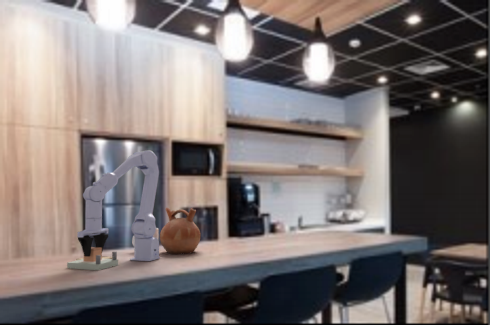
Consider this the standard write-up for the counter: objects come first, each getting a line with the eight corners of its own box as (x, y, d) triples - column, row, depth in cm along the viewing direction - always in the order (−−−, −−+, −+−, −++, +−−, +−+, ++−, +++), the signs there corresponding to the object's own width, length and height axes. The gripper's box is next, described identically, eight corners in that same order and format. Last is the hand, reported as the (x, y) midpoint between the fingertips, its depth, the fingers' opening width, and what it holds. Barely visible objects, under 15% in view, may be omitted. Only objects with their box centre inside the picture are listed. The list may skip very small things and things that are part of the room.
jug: (150, 254, 183) (151, 208, 184) (173, 248, 199) (173, 206, 201) (187, 256, 176) (187, 208, 177) (207, 250, 192) (207, 206, 194)
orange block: (101, 259, 157) (101, 247, 157) (93, 261, 152) (93, 249, 153) (91, 259, 158) (91, 247, 158) (83, 261, 154) (83, 248, 154)
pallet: (116, 259, 169) (116, 256, 169) (100, 263, 160) (101, 260, 161) (92, 258, 173) (92, 255, 173) (76, 262, 165) (76, 258, 165)
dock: (118, 264, 158) (118, 251, 158) (98, 270, 147) (98, 256, 148) (88, 263, 163) (88, 250, 163) (67, 268, 152) (67, 254, 153)
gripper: (98, 216, 164) (97, 251, 163) (70, 219, 151) (70, 257, 150) (113, 216, 162) (112, 252, 161) (86, 219, 148) (86, 258, 147)
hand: (93, 255), depth 155 cm, fingers open, 6 cm apart
